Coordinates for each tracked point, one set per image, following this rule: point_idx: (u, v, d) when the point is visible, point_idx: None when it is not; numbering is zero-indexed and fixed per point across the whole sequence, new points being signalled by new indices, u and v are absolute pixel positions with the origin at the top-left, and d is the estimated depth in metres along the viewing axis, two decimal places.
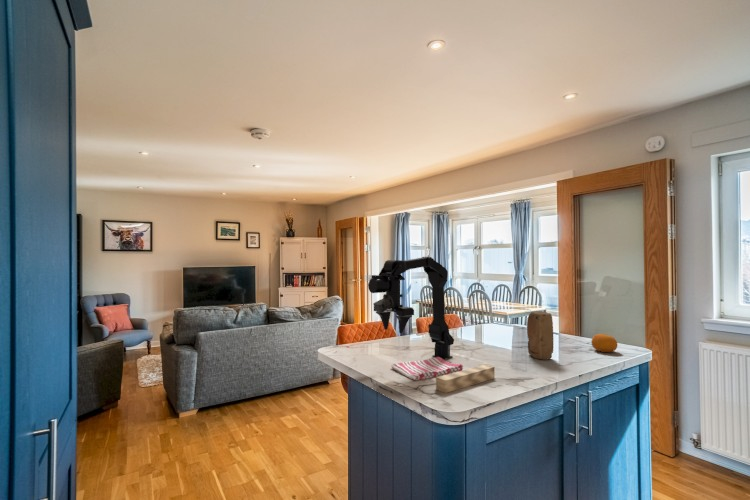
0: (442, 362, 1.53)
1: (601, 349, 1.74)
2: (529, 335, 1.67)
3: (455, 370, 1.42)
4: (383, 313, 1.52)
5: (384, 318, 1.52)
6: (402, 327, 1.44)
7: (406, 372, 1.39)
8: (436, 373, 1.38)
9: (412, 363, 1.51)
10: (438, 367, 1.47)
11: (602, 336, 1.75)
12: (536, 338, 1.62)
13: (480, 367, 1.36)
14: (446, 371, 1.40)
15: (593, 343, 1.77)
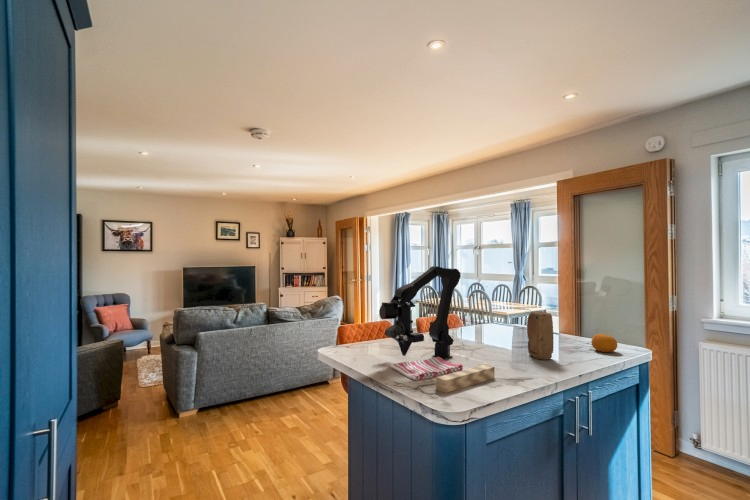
0: (442, 362, 1.53)
1: (601, 349, 1.74)
2: (529, 335, 1.67)
3: (455, 370, 1.42)
4: (401, 339, 1.57)
5: None
6: (405, 350, 1.56)
7: (406, 372, 1.39)
8: (436, 373, 1.38)
9: (412, 363, 1.51)
10: (438, 367, 1.47)
11: (602, 336, 1.75)
12: (536, 338, 1.62)
13: (480, 367, 1.36)
14: (446, 371, 1.40)
15: (593, 343, 1.77)
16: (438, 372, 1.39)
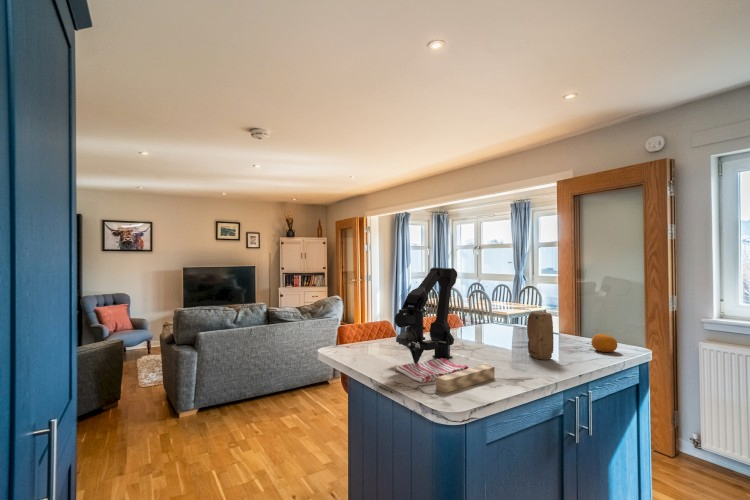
0: (446, 363, 1.50)
1: (601, 349, 1.74)
2: (529, 335, 1.67)
3: None
4: (413, 347, 1.51)
5: None
6: (417, 358, 1.50)
7: (411, 374, 1.36)
8: (442, 375, 1.36)
9: (416, 365, 1.48)
10: (443, 369, 1.45)
11: (602, 336, 1.75)
12: (536, 338, 1.62)
13: (480, 367, 1.36)
14: None
15: (593, 343, 1.77)
16: (444, 374, 1.36)
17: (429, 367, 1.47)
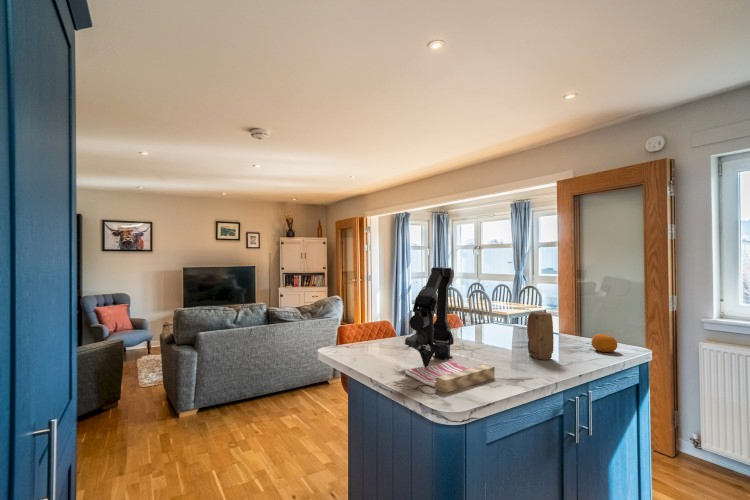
0: (456, 366, 1.46)
1: (601, 349, 1.74)
2: (529, 335, 1.67)
3: None
4: (423, 349, 1.46)
5: None
6: (427, 361, 1.46)
7: (423, 378, 1.31)
8: None
9: (425, 368, 1.43)
10: (453, 372, 1.41)
11: (602, 336, 1.75)
12: (536, 338, 1.62)
13: (480, 367, 1.36)
14: None
15: (593, 343, 1.77)
16: None
17: (439, 371, 1.42)
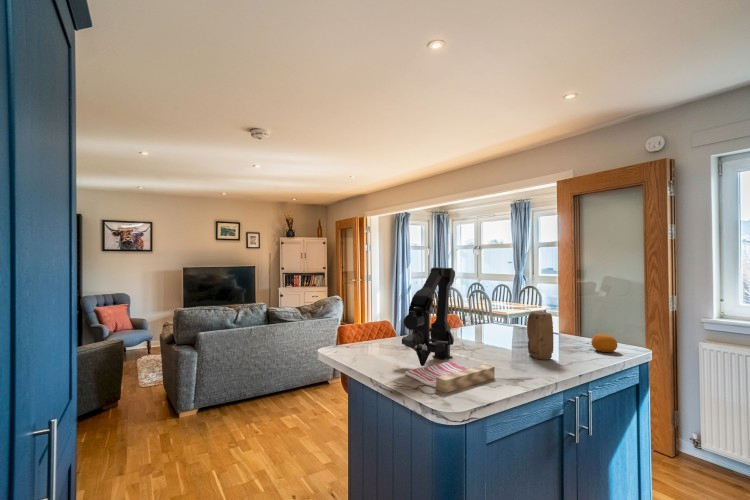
0: (455, 367, 1.46)
1: (601, 349, 1.74)
2: (529, 335, 1.67)
3: None
4: (419, 349, 1.48)
5: (420, 354, 1.48)
6: (424, 360, 1.47)
7: (424, 379, 1.31)
8: None
9: (425, 369, 1.43)
10: (453, 372, 1.41)
11: (602, 336, 1.75)
12: (536, 338, 1.62)
13: (480, 367, 1.36)
14: None
15: (593, 343, 1.77)
16: None
17: (439, 371, 1.42)
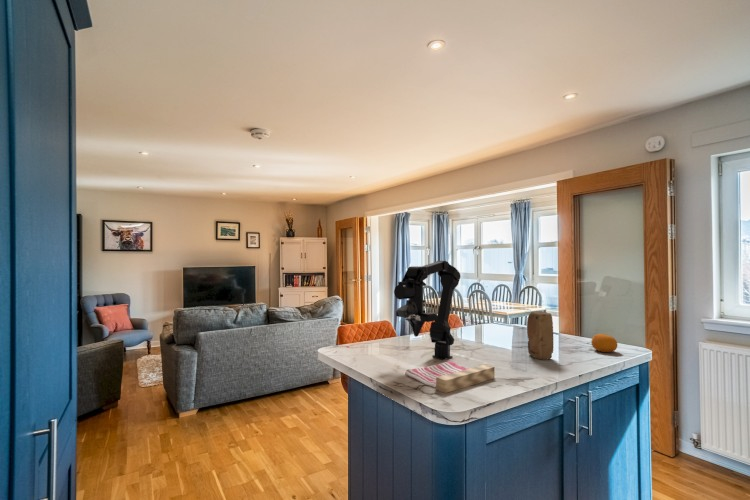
0: (455, 367, 1.46)
1: (601, 349, 1.74)
2: (529, 335, 1.67)
3: None
4: (413, 320, 1.52)
5: None
6: (418, 331, 1.51)
7: (424, 379, 1.31)
8: None
9: (425, 369, 1.43)
10: (453, 372, 1.41)
11: (602, 336, 1.75)
12: (536, 338, 1.62)
13: (480, 367, 1.36)
14: None
15: (593, 343, 1.77)
16: None
17: (439, 371, 1.42)
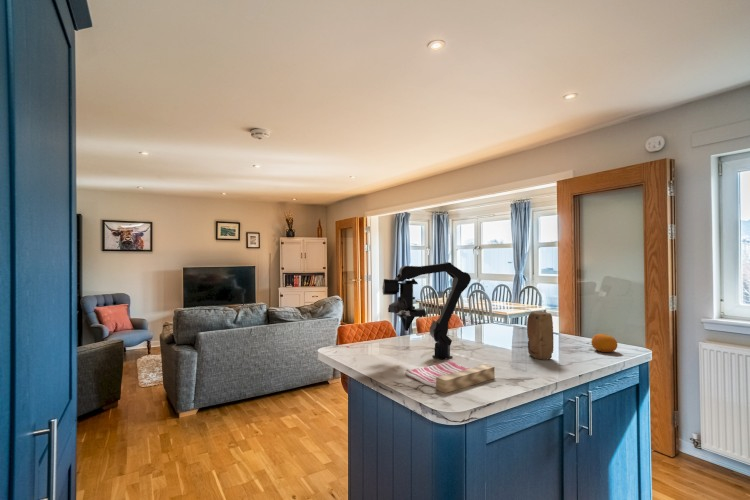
0: (455, 367, 1.46)
1: (601, 349, 1.74)
2: (529, 335, 1.67)
3: None
4: None
5: (404, 320, 1.63)
6: (408, 325, 1.62)
7: (424, 379, 1.31)
8: None
9: (425, 369, 1.43)
10: (453, 372, 1.41)
11: (602, 336, 1.75)
12: (536, 338, 1.62)
13: (480, 367, 1.36)
14: None
15: (593, 343, 1.77)
16: None
17: (439, 371, 1.42)
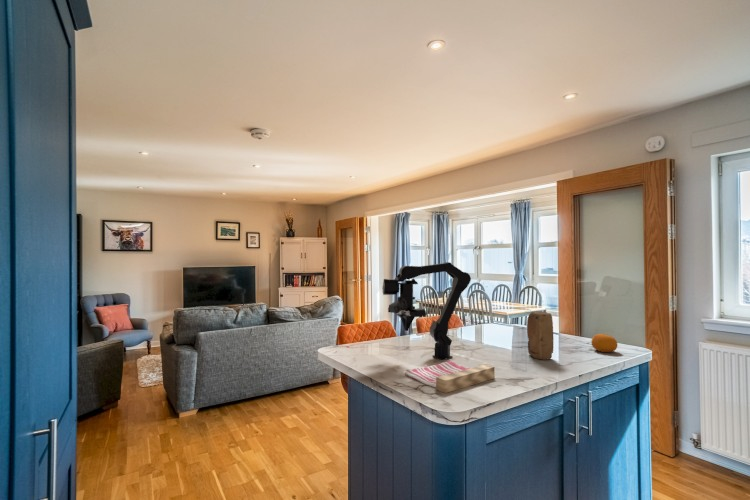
0: (455, 367, 1.46)
1: (601, 349, 1.74)
2: (529, 335, 1.67)
3: None
4: None
5: (404, 320, 1.63)
6: (408, 325, 1.62)
7: (424, 379, 1.31)
8: None
9: (425, 369, 1.43)
10: (453, 372, 1.41)
11: (602, 336, 1.75)
12: (536, 338, 1.62)
13: (480, 367, 1.36)
14: None
15: (593, 343, 1.77)
16: None
17: (439, 371, 1.42)
